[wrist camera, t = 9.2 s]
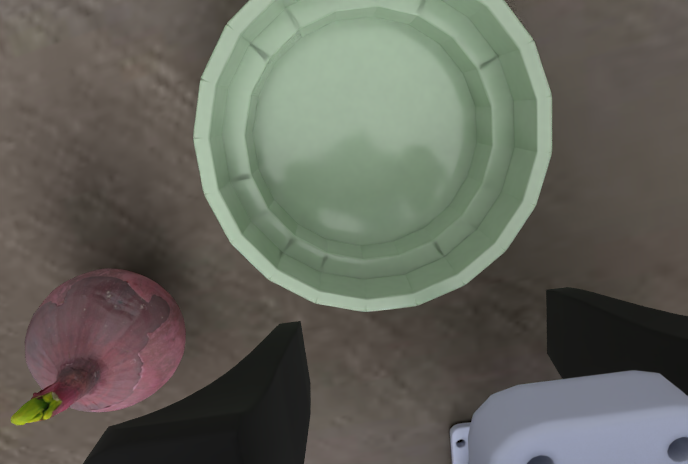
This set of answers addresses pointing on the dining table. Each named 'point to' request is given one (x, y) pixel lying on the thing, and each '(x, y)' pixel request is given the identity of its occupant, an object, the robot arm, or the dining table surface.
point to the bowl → (373, 143)
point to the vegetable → (101, 344)
